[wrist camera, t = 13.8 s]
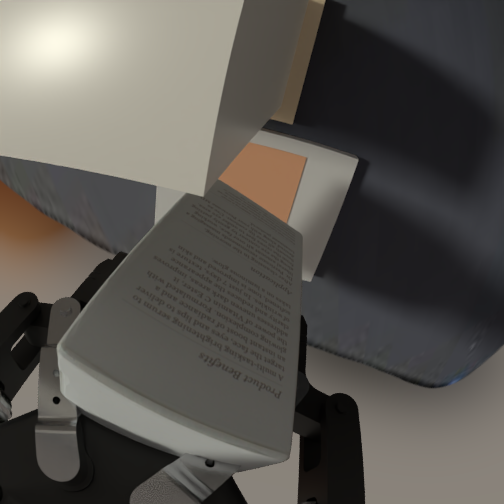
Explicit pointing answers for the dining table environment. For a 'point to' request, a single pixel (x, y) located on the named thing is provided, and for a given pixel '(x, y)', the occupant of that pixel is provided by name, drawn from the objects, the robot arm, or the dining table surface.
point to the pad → (288, 186)
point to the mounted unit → (149, 82)
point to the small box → (196, 335)
